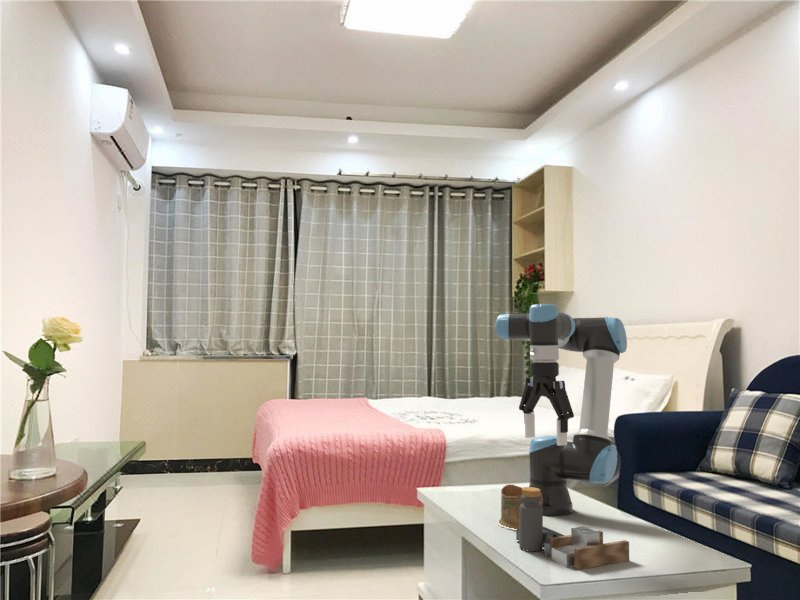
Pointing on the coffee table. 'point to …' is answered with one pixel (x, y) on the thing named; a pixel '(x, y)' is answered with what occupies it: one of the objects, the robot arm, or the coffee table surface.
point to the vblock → (545, 538)
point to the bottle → (531, 520)
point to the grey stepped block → (575, 545)
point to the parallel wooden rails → (594, 552)
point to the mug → (512, 506)
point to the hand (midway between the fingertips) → (545, 441)
